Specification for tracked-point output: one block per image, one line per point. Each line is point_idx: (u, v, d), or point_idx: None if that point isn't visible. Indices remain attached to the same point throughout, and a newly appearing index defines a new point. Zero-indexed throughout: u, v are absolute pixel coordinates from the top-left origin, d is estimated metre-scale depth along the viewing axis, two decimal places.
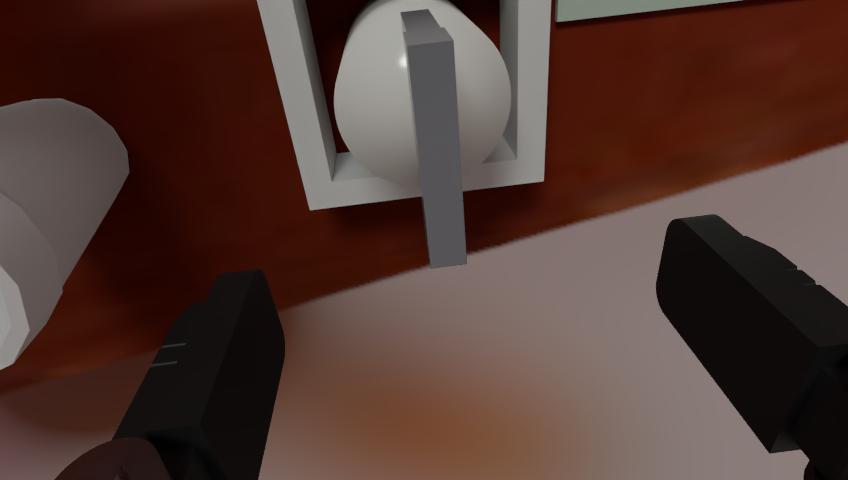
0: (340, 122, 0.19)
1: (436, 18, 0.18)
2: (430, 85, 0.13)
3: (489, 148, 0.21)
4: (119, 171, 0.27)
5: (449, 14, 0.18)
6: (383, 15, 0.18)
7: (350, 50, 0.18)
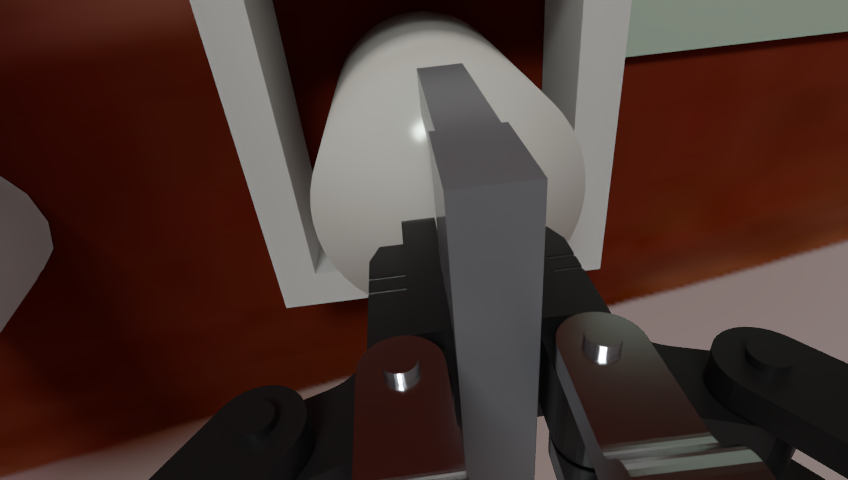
0: (321, 230, 0.13)
1: (475, 77, 0.11)
2: (490, 262, 0.06)
3: None
4: (33, 253, 0.20)
5: (496, 71, 0.11)
6: (388, 69, 0.12)
7: (335, 127, 0.11)
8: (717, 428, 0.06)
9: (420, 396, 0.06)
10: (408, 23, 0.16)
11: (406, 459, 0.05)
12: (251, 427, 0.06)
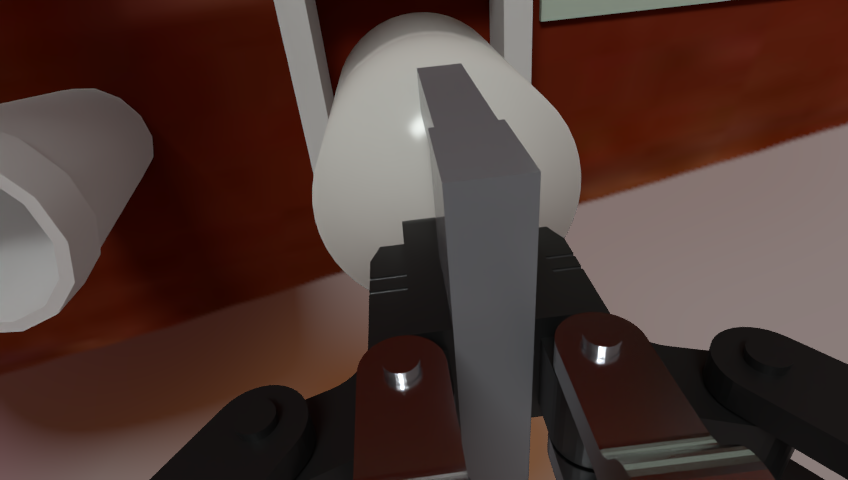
0: (322, 225, 0.13)
1: (473, 77, 0.11)
2: (486, 252, 0.06)
3: None
4: (145, 154, 0.30)
5: (494, 71, 0.11)
6: (389, 68, 0.12)
7: (337, 124, 0.12)
8: (716, 428, 0.06)
9: (421, 396, 0.06)
10: (408, 24, 0.16)
11: (407, 459, 0.05)
12: (252, 427, 0.06)
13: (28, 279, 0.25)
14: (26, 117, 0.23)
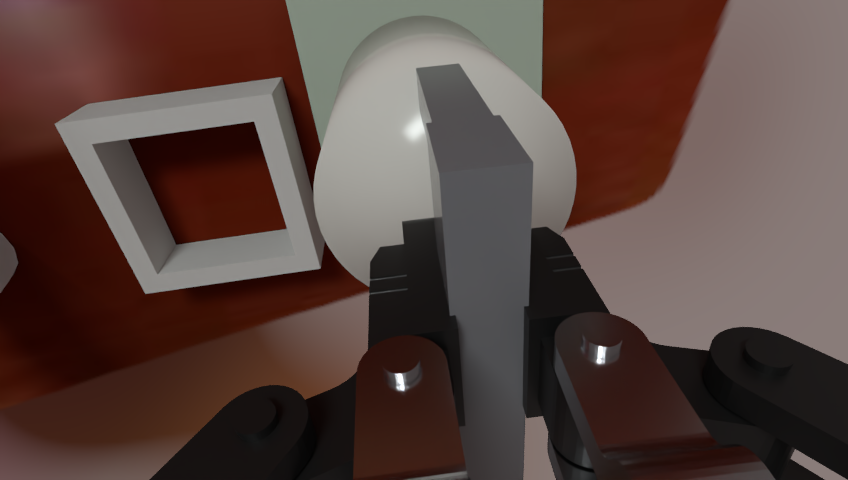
0: (323, 222, 0.13)
1: (471, 77, 0.11)
2: (482, 240, 0.07)
3: None
4: (5, 266, 0.37)
5: (491, 71, 0.11)
6: (389, 69, 0.12)
7: (338, 123, 0.12)
8: (716, 428, 0.06)
9: (421, 396, 0.06)
10: (408, 27, 0.17)
11: (407, 459, 0.05)
12: (252, 427, 0.06)
13: None
14: None
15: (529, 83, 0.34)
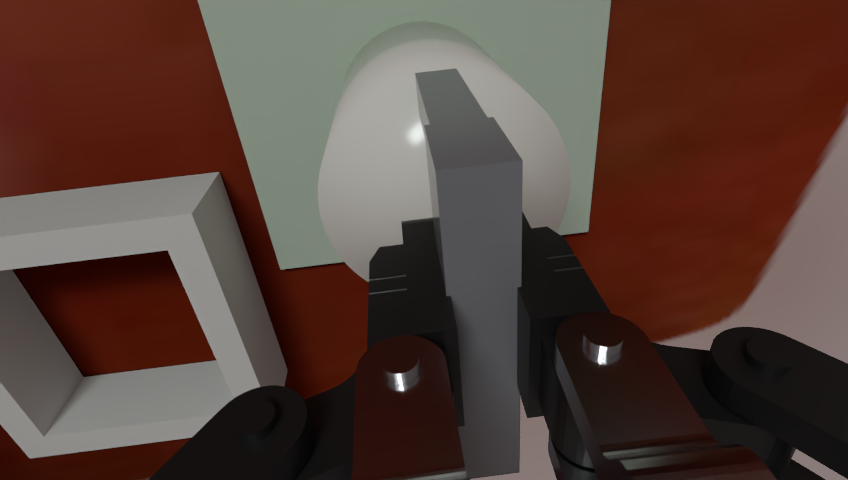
0: (327, 221, 0.14)
1: (467, 81, 0.12)
2: (476, 233, 0.07)
3: None
4: None
5: (487, 75, 0.12)
6: (389, 74, 0.13)
7: (341, 126, 0.12)
8: (717, 428, 0.06)
9: (420, 396, 0.06)
10: (408, 33, 0.17)
11: (406, 459, 0.05)
12: (251, 427, 0.06)
13: None
14: None
15: (575, 183, 0.24)
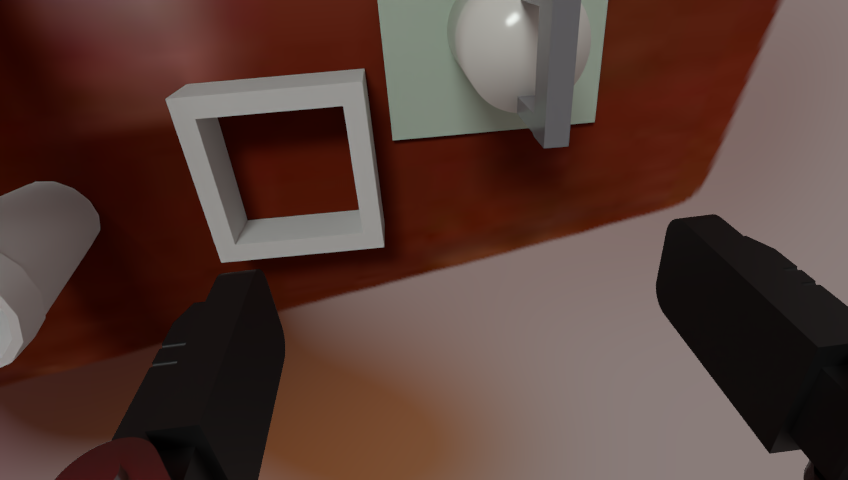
0: (467, 58, 0.27)
1: None
2: (564, 12, 0.21)
3: None
4: (92, 231, 0.40)
5: None
6: None
7: (482, 4, 0.26)
8: None
9: None
10: None
11: None
12: None
13: None
14: None
15: (587, 86, 0.37)
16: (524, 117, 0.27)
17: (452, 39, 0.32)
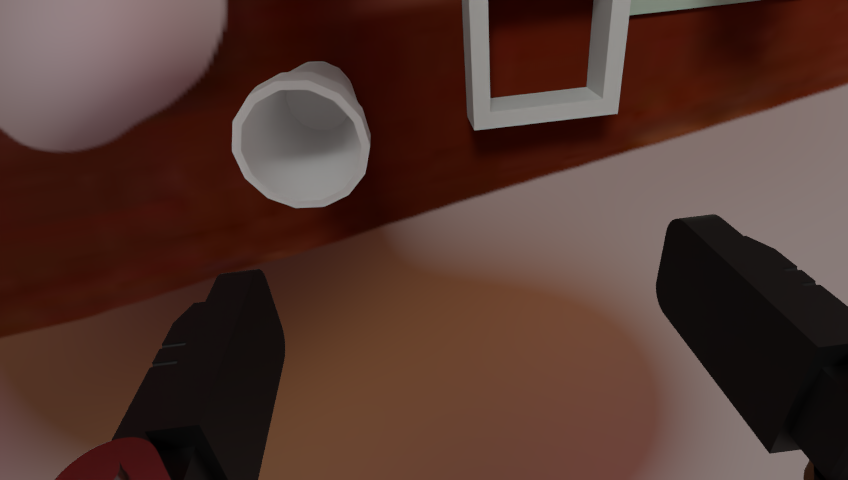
0: None
1: None
2: None
3: None
4: None
5: None
6: None
7: None
8: None
9: None
10: None
11: None
12: None
13: (312, 180, 0.39)
14: (326, 74, 0.37)
15: None
16: None
17: None
